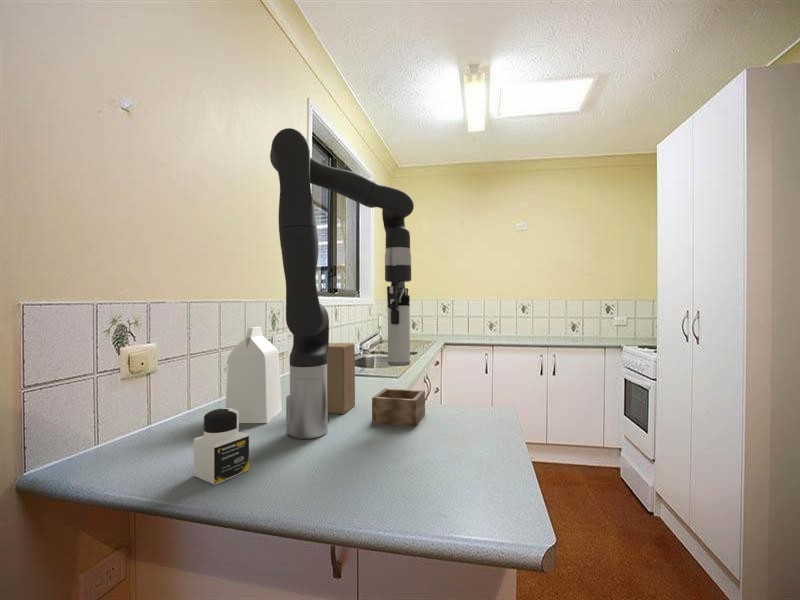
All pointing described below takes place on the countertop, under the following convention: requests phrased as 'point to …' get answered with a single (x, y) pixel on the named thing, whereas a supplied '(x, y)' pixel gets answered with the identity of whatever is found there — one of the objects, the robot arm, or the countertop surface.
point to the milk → (254, 379)
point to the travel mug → (399, 335)
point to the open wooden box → (398, 407)
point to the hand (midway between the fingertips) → (398, 323)
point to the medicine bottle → (221, 447)
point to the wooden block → (340, 377)
